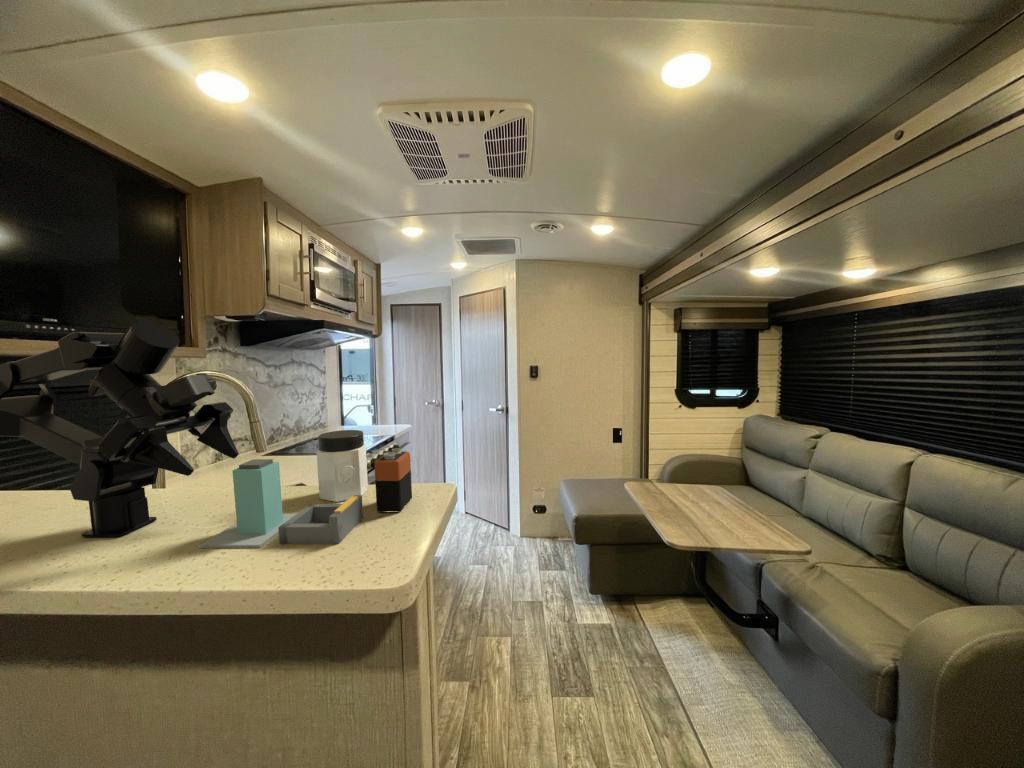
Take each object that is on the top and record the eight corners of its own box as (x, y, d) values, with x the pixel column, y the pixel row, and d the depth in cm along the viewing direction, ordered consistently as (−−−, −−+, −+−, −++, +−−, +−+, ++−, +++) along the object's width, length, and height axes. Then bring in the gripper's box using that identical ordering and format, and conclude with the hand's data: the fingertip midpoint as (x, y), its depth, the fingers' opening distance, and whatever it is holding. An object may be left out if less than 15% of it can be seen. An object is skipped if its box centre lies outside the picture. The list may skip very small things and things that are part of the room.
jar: (323, 505, 74) (318, 440, 73) (316, 493, 80) (312, 433, 79) (373, 495, 78) (370, 434, 77) (363, 484, 85) (360, 427, 84)
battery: (375, 513, 70) (372, 456, 69) (390, 498, 77) (387, 446, 76) (400, 513, 70) (397, 456, 69) (412, 498, 76) (410, 446, 75)
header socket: (279, 543, 59) (277, 515, 59) (311, 518, 68) (309, 493, 68) (338, 543, 59) (336, 514, 58) (363, 518, 68) (361, 493, 67)
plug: (237, 534, 62) (232, 466, 61) (256, 522, 66) (251, 458, 65) (266, 534, 61) (260, 466, 61) (283, 522, 66) (278, 458, 65)
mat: (199, 547, 58) (199, 545, 58) (251, 516, 69) (250, 514, 69) (260, 547, 58) (260, 544, 58) (302, 516, 69) (302, 513, 69)
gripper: (110, 358, 53) (200, 441, 53) (218, 356, 71) (284, 417, 72) (58, 419, 54) (147, 500, 54) (178, 401, 72) (244, 461, 73)
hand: (215, 464), depth 63 cm, fingers open, 9 cm apart
